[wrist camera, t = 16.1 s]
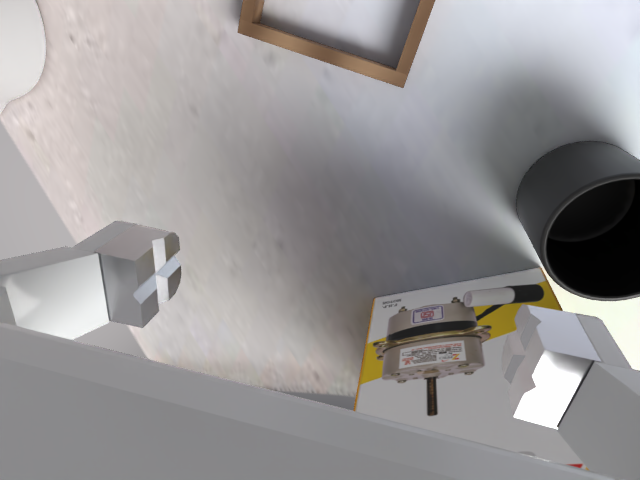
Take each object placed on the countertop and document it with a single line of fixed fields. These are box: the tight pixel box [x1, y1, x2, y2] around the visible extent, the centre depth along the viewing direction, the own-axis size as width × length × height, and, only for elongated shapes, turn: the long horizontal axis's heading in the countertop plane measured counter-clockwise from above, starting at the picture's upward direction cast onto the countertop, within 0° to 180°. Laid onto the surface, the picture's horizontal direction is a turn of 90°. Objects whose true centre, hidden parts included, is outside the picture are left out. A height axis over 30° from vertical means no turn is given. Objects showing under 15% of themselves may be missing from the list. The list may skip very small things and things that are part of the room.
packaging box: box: [354, 267, 589, 470], centre depth 34 cm, size 16×16×25 cm
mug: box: [516, 141, 640, 301], centre depth 32 cm, size 9×12×9 cm
